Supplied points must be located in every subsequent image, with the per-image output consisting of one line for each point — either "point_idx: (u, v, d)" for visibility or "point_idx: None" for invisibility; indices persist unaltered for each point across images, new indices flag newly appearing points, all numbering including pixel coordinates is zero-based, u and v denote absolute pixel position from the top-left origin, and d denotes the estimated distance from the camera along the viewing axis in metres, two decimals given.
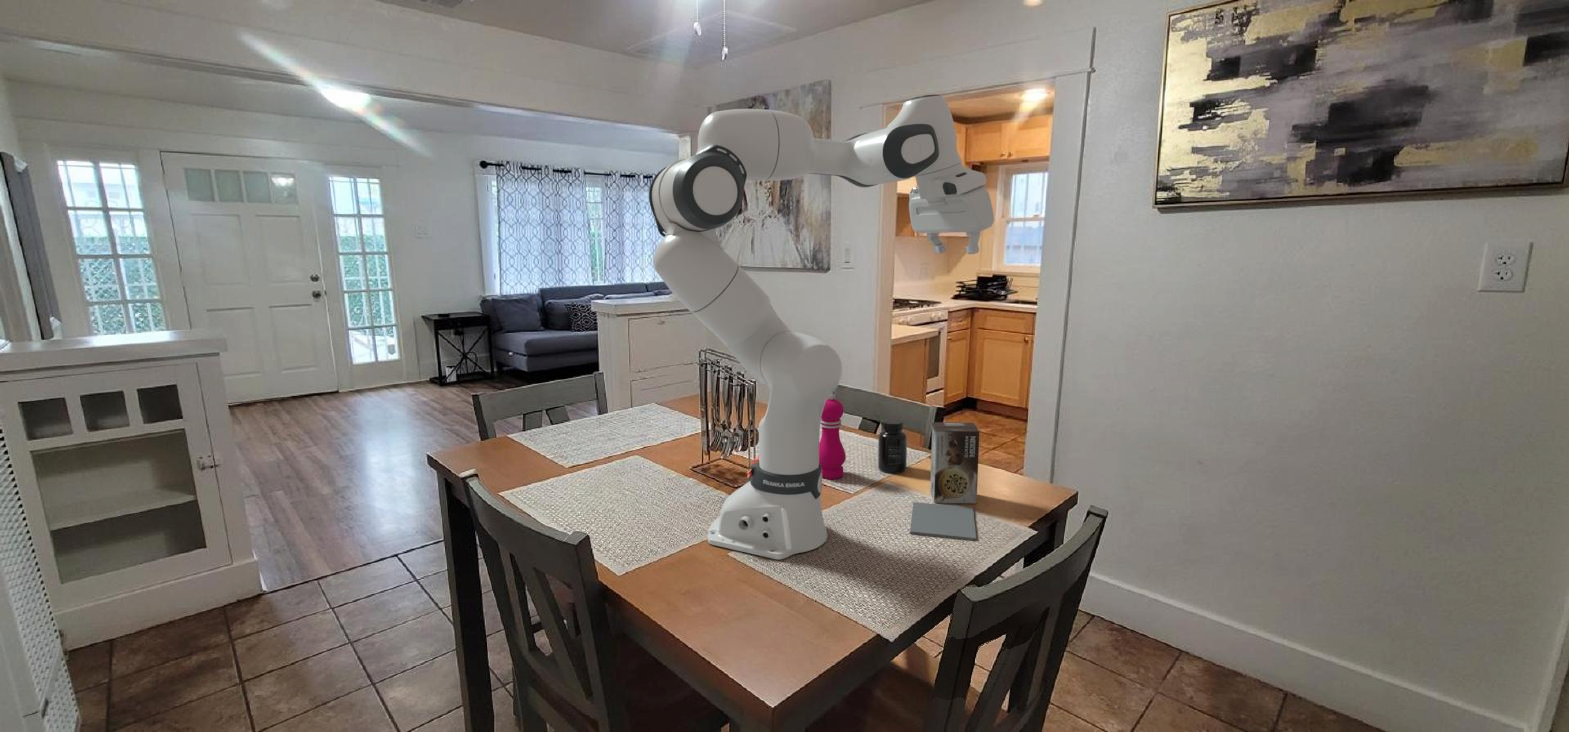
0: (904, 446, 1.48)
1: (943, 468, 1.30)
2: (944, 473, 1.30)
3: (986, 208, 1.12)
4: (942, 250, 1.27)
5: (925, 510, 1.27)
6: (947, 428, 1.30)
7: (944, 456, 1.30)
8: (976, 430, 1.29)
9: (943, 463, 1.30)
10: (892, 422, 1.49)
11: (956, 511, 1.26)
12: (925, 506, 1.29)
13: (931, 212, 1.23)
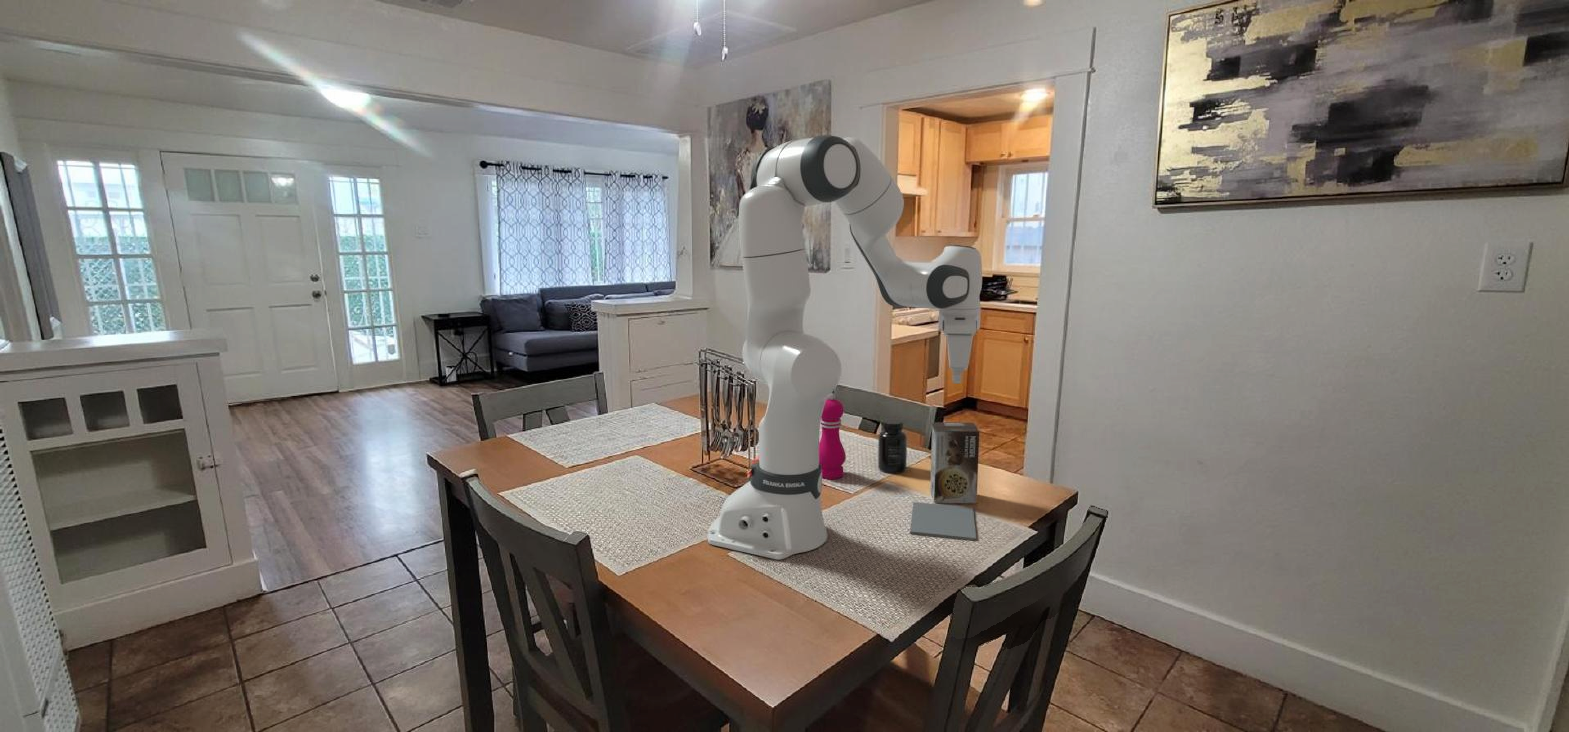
0: (904, 446, 1.48)
1: (943, 468, 1.30)
2: (944, 473, 1.30)
3: (962, 353, 1.28)
4: None
5: (925, 510, 1.27)
6: (947, 428, 1.30)
7: (944, 456, 1.30)
8: (976, 430, 1.29)
9: (943, 463, 1.30)
10: (892, 422, 1.49)
11: (956, 511, 1.26)
12: (925, 506, 1.29)
13: None
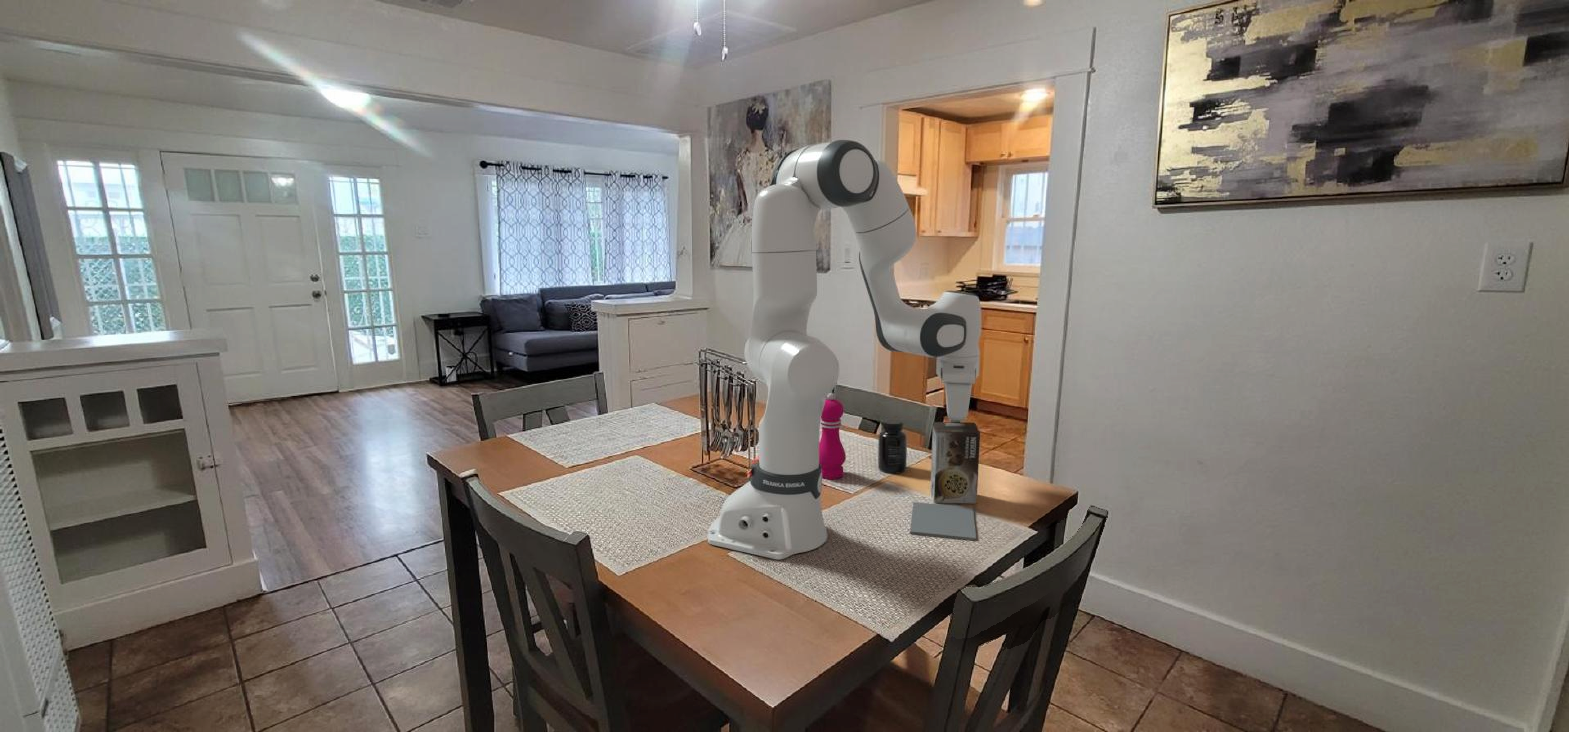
0: (904, 446, 1.48)
1: (943, 469, 1.30)
2: (944, 474, 1.30)
3: (960, 403, 1.25)
4: None
5: (925, 510, 1.27)
6: (948, 429, 1.30)
7: (944, 457, 1.29)
8: (977, 431, 1.28)
9: (943, 464, 1.30)
10: (892, 422, 1.49)
11: (956, 511, 1.26)
12: (925, 506, 1.29)
13: None
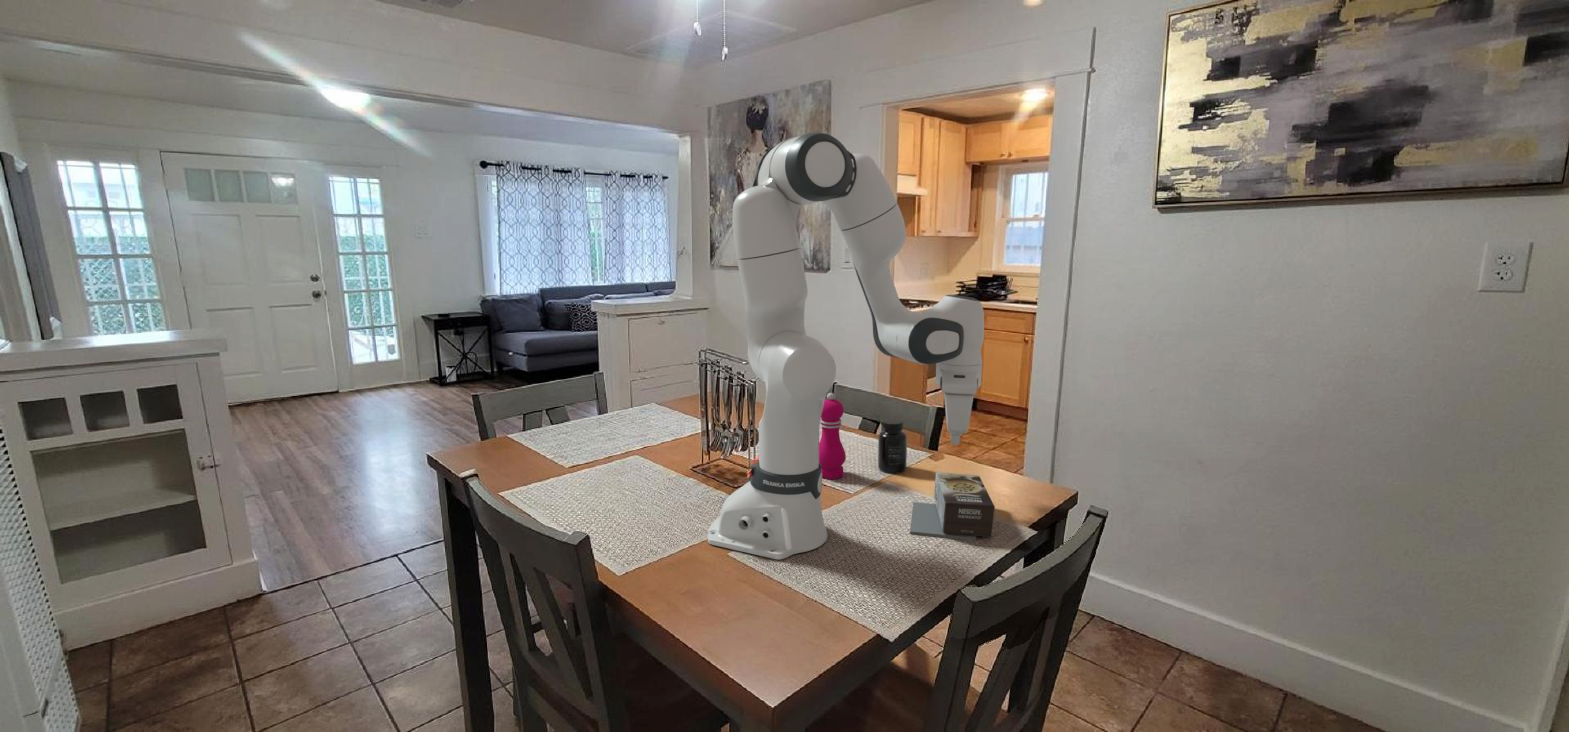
0: (904, 446, 1.48)
1: None
2: None
3: (961, 415, 1.17)
4: None
5: (925, 510, 1.27)
6: (958, 525, 1.16)
7: None
8: (989, 533, 1.15)
9: None
10: (892, 422, 1.49)
11: None
12: (925, 506, 1.29)
13: None
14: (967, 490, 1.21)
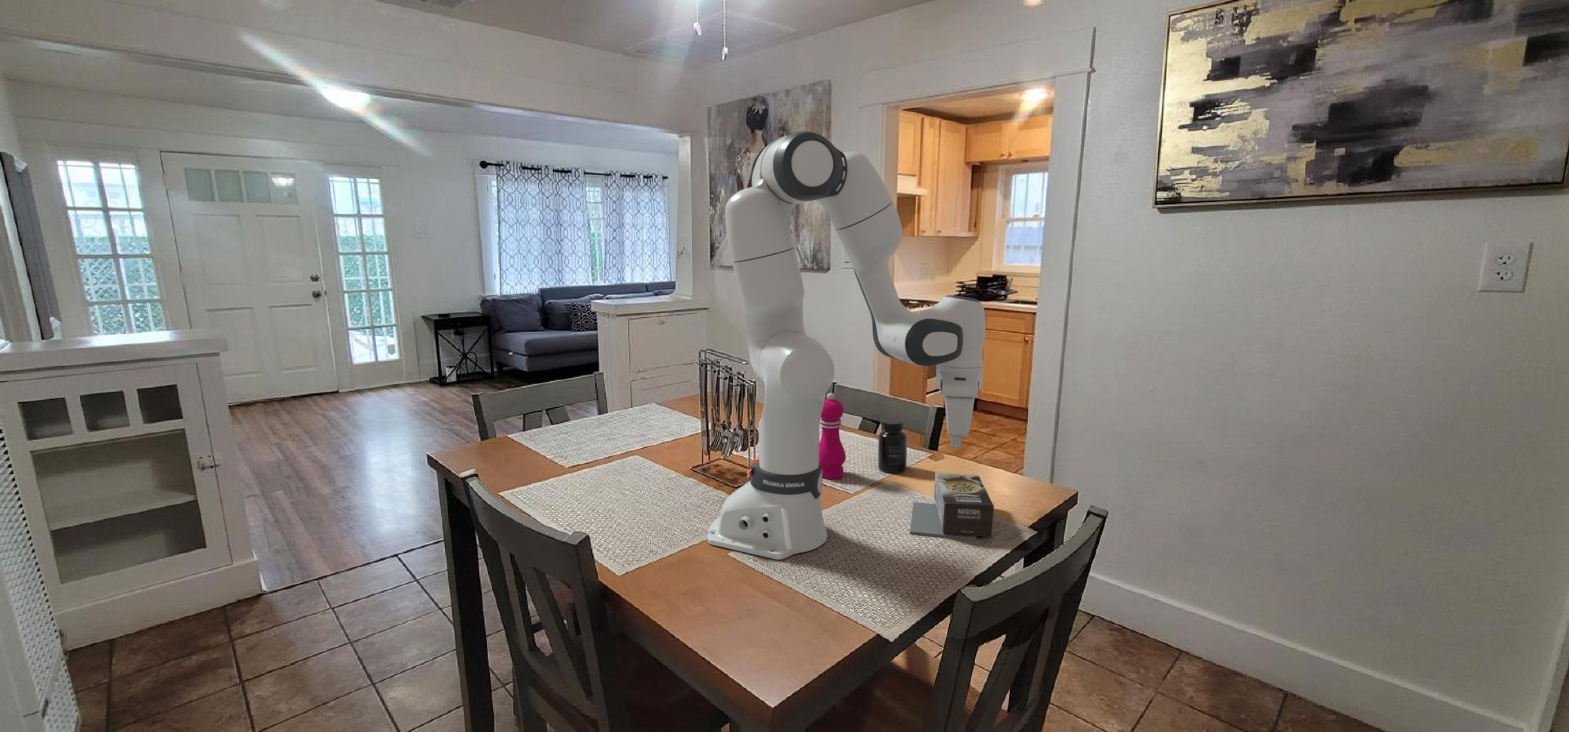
0: (904, 446, 1.48)
1: None
2: None
3: (962, 419, 1.14)
4: None
5: (925, 510, 1.27)
6: (957, 526, 1.16)
7: None
8: (989, 533, 1.15)
9: None
10: (892, 422, 1.49)
11: None
12: (925, 506, 1.29)
13: None
14: (966, 490, 1.21)
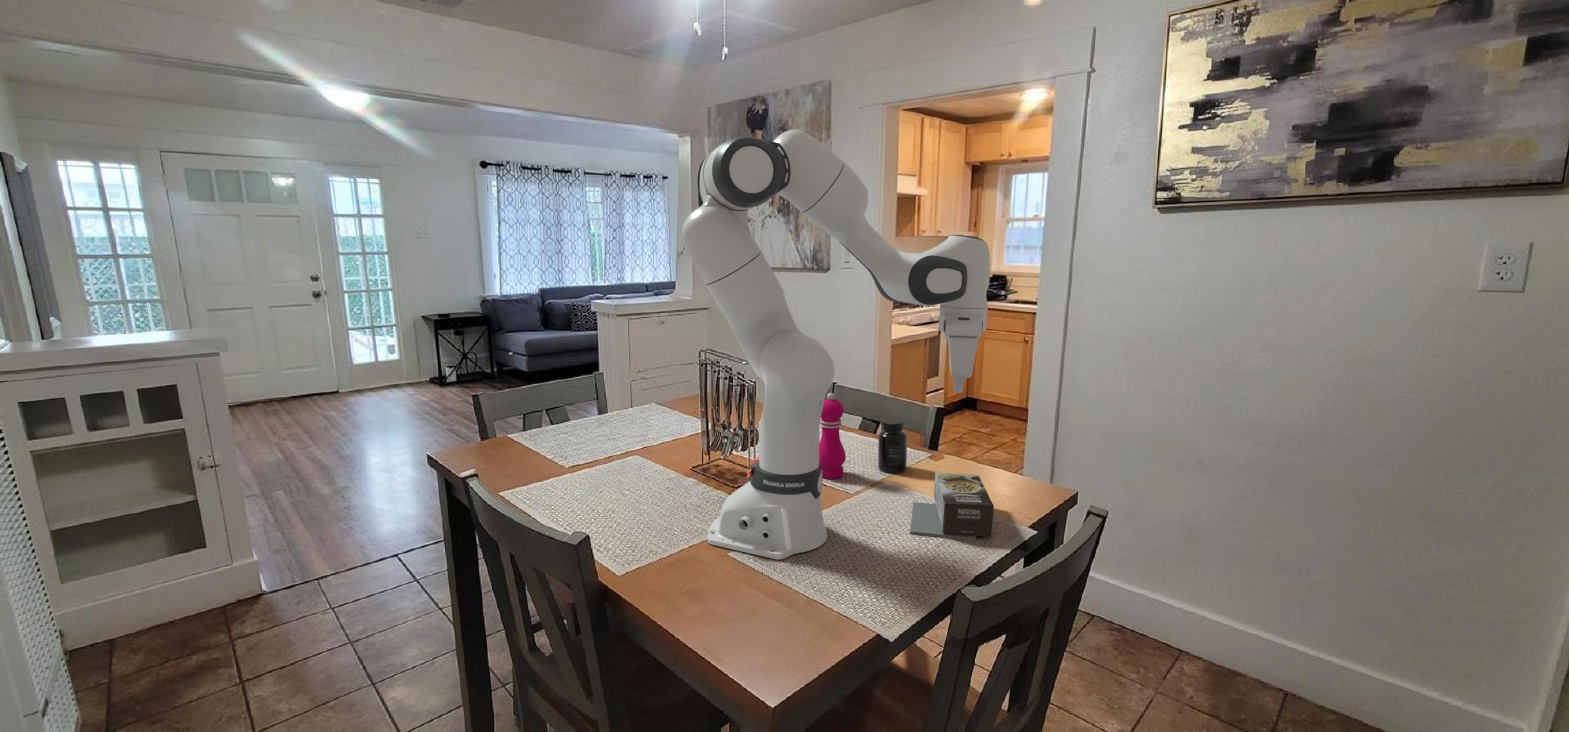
0: (904, 446, 1.48)
1: None
2: None
3: (965, 358, 1.12)
4: None
5: (925, 510, 1.27)
6: (957, 526, 1.16)
7: None
8: (989, 533, 1.15)
9: None
10: (892, 422, 1.49)
11: None
12: (925, 506, 1.29)
13: None
14: (966, 490, 1.21)
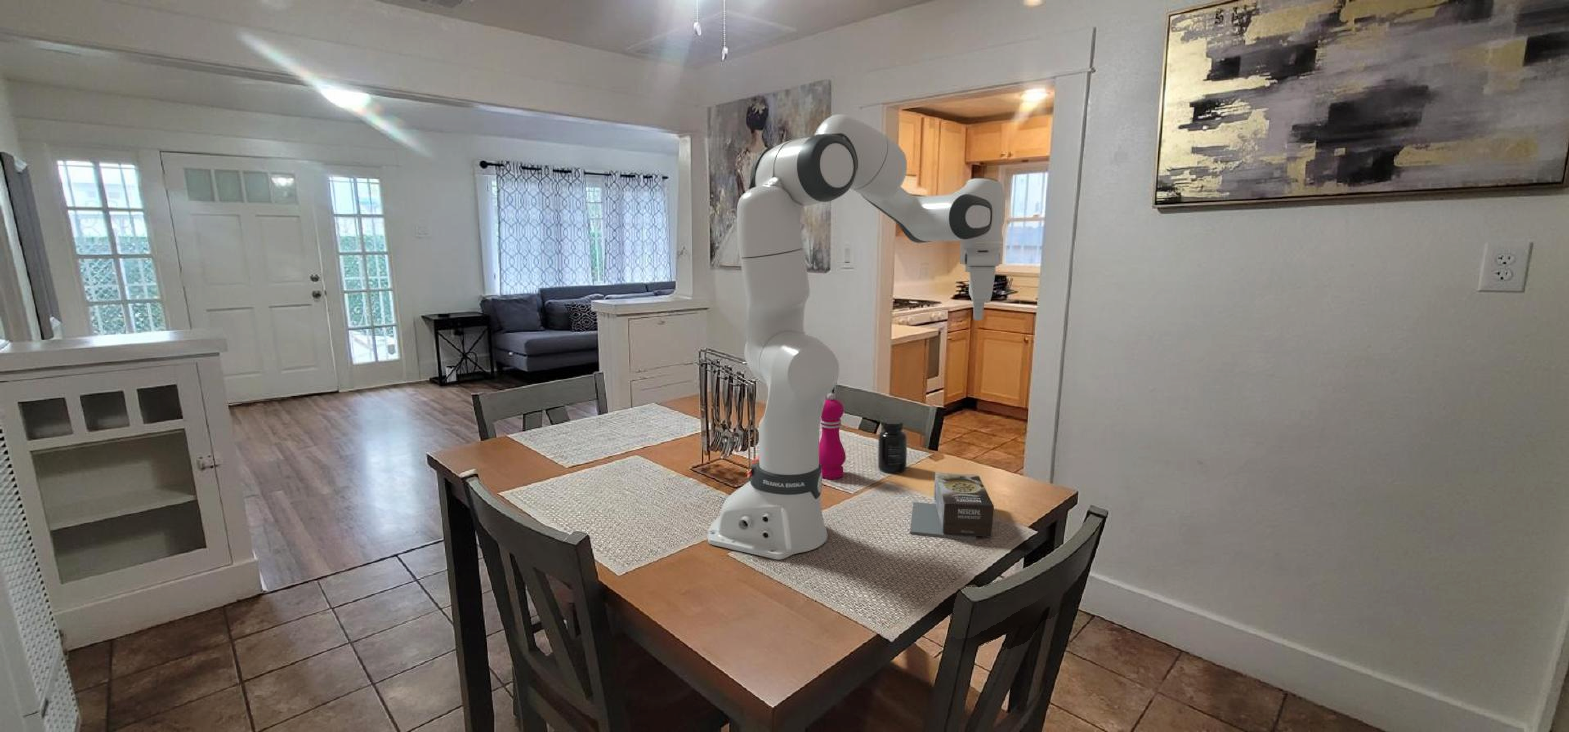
0: (904, 446, 1.48)
1: None
2: None
3: (985, 285, 1.27)
4: None
5: (925, 510, 1.27)
6: (957, 526, 1.16)
7: None
8: (989, 533, 1.15)
9: None
10: (892, 422, 1.49)
11: None
12: (925, 506, 1.29)
13: None
14: (966, 490, 1.21)
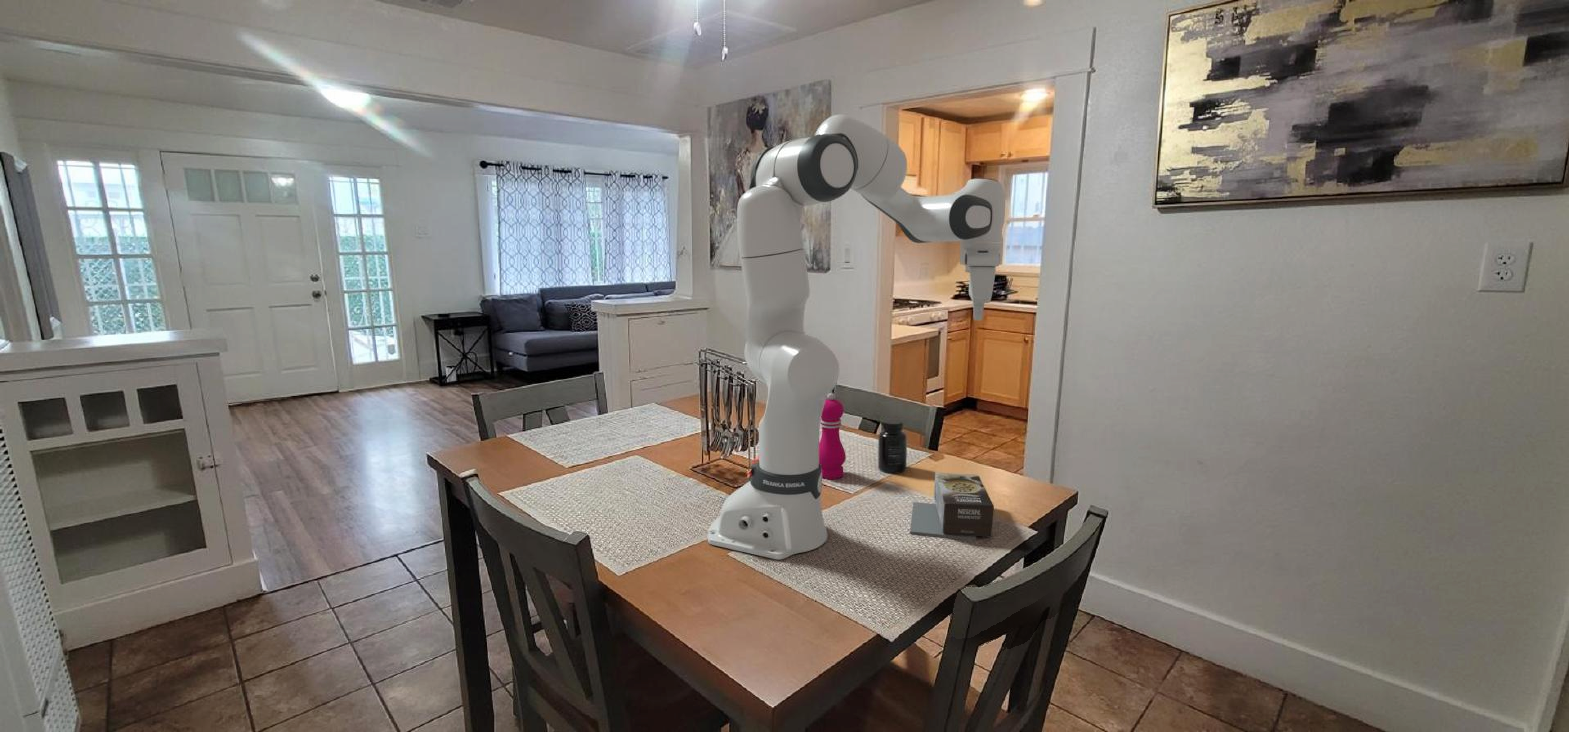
0: (904, 446, 1.48)
1: None
2: None
3: (985, 285, 1.27)
4: None
5: (925, 510, 1.27)
6: (957, 526, 1.16)
7: None
8: (989, 533, 1.15)
9: None
10: (892, 422, 1.49)
11: None
12: (925, 506, 1.29)
13: None
14: (966, 490, 1.21)
